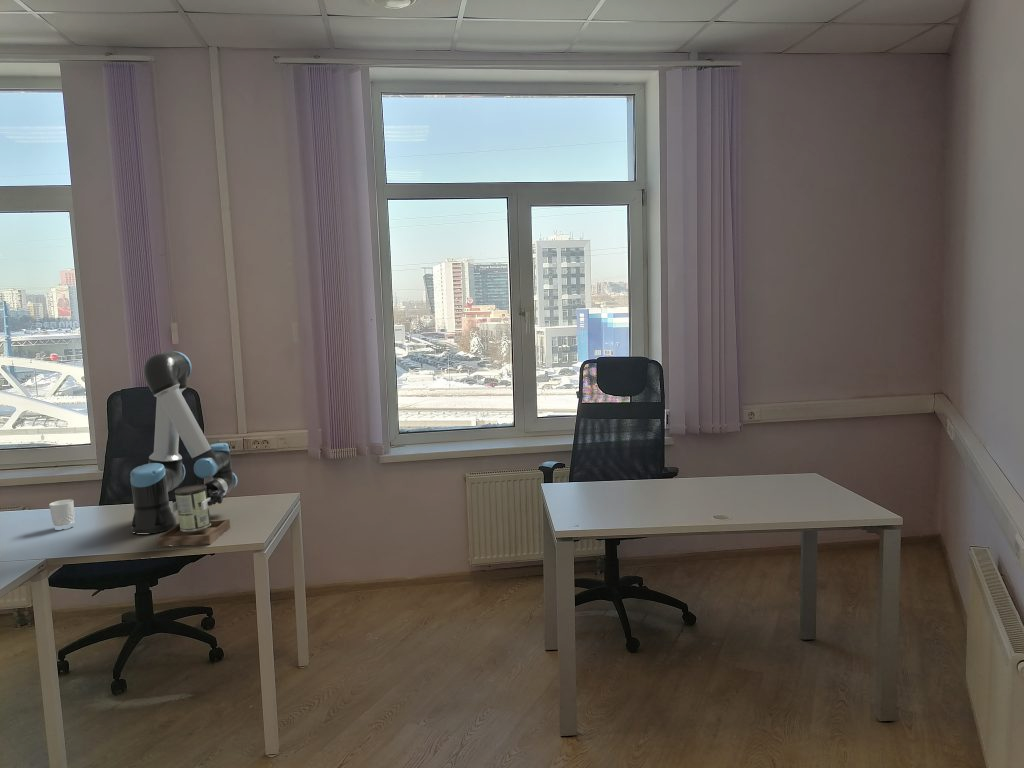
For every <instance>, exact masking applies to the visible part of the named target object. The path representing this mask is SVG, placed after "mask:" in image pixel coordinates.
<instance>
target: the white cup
mask: <svg viewBox="0 0 1024 768" xmlns="http://www.w3.org/2000/svg"><path fill="white" fill-rule="evenodd" d="M48 505H49V510H50V515H51V520H52V523H53V526H54V525H55V526H63V525H68V524H72V523H75V519H76V517H75V506H74V505H75V504H74V499H62V500H56V501H53V502H50V503H49V504H48Z"/></svg>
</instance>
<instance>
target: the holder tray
mask: <svg viewBox="0 0 1024 768" xmlns="http://www.w3.org/2000/svg"><path fill="white" fill-rule="evenodd" d="M210 522H211V525H210V526H209V527H207V528H205V529H202V530H197V531H191V532H183V531H180V524H179V522H178V523H177V525H175V526H174V527H173V528H171V529H170V530H167V531H164V533H162V534H161V535H160V536H158V537H157V538H156V543H157V547H158V546H169V545H191V546H206V545H205V544H210V545H212V544H213V543H214V542H215V541H216V540H218V539H219V538H220V537H221V536H223V535H224V534H225V533H226V532H227V531H228V529H229V528H230V527H231V520H230V519H210ZM230 529H231V528H230ZM230 529H229V530H230ZM224 532H225V533H224ZM223 533H224V534H223ZM222 534H223V535H222ZM219 536H220V537H219ZM218 537H219V538H218ZM217 538H218V539H217ZM212 542H213V543H212ZM211 543H212V544H211ZM202 544H204V545H202Z"/></svg>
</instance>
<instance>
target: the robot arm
mask: <svg viewBox="0 0 1024 768" xmlns="http://www.w3.org/2000/svg"><path fill="white" fill-rule="evenodd" d="M192 366H193V365H192V363H191V361H190V359H189V357H188V356H187V355H185V354H184V353H183V352H180V351H173V350H172V351H170V350H169V351H166V352H163V353H157V354H156V353H155V354H153V355H151V356H150V357H149V358H148V359H147V360H146V361H145V363H144V366H143V375H144V378H145V382H146V384H147V386H148V388H149V389H150V392H151V393H152V395H153V397H155V398H156V404H155V405H156V406H155V421H154V422H155V425H154V426H155V427H154V439H153V440H154V443H153V452H152V453H151V454H150V455H149V456H148V463H146V464H145V463H144V464H141V465H139V466H137V467H134V468H133V469H132V470H131V471H130V480H129V481H130V485H131V492H132V500H133V501H132V502H133V508H134V509H133V510H134V512H133V517H132V521H131V525H130V526H131V527H130V528H131V529H130V530H131V533H132V532H135V533H155V534H157V533H156V532H160V533H163V531H164V532H167V531H168V530H170V529H171V528H173V527H174V526H175V525H177V524H178V523H177V518H176V516H175V515H174V513H175V512H176V511H178V510H177V503H176V497H175V498H172V503H171V504H170V502H169V492H171V491H172V490H173V491H174V490H176V489H177V488H178V487H179V486H180V485H181V483H183V481H184V479H185V476H186V468H185V465H184V464H183V457H182V455H181V454H180V453H179V444H180V439H181V441H182V443H183V445H184V447H185V448H186V450H187V452H188V454H189V456H190V458H191V460H192V461H193V463H194V464H193V473H194V474H195V475H196V477H198V478H200V479H208V478H209V479H210V478H211V479H210V480H208V481H207V482H205V483H204V484H203V485H206V492H207V499H206V500H205V501H203V502H202V503H201V507H202V510H205V509H207V508H208V507H209V508H210V507H211V506H213V505H216V504H218V505H219V504H220V505H221V504H222V503H223V501H224V498H226V496H227V495H226V494H228V493H230V492H232V491H233V490H234V488H235V487H237V485H238V476H237V475H236V474H235V473H234V472H233V467H232V459H231V458H232V457H231V450H230V447H229V446H230V445H229V444H228V443H227V442H218V443H217V442H216V443H213V444H210V443H209V442H208V441H209V440H207V438H206V436H205V434H204V432H203V430H202V428H201V427H200V425H199V423H198V422H197V420H196V417H195V416H194V413H193V412H192V411H191V408H190V406H189V405H188V403H187V402H186V399H185V397H184V396H183V394H182V393H183V391H184V390H186V389H187V383H188V378H189V376H190V375H191V373H192ZM166 530H167V531H166Z"/></svg>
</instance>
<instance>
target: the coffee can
mask: <svg viewBox="0 0 1024 768" xmlns="http://www.w3.org/2000/svg"><path fill="white" fill-rule="evenodd" d="M173 491H174V494H175V498H176V503H177V510H176V511H177V515H178V523H179V524H180V531H183V532H191V531H197V530H202V529H205V528H207V527H209V526H210V525H211V522H210V520H211V516H210V507H208V508H207V509H205V510H202V507H201V503H202V502H203V501H205V500H206V499H207V492H206V485H204V484H191V485H185V486H181V487H179V488H175V489H174V490H173Z"/></svg>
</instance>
